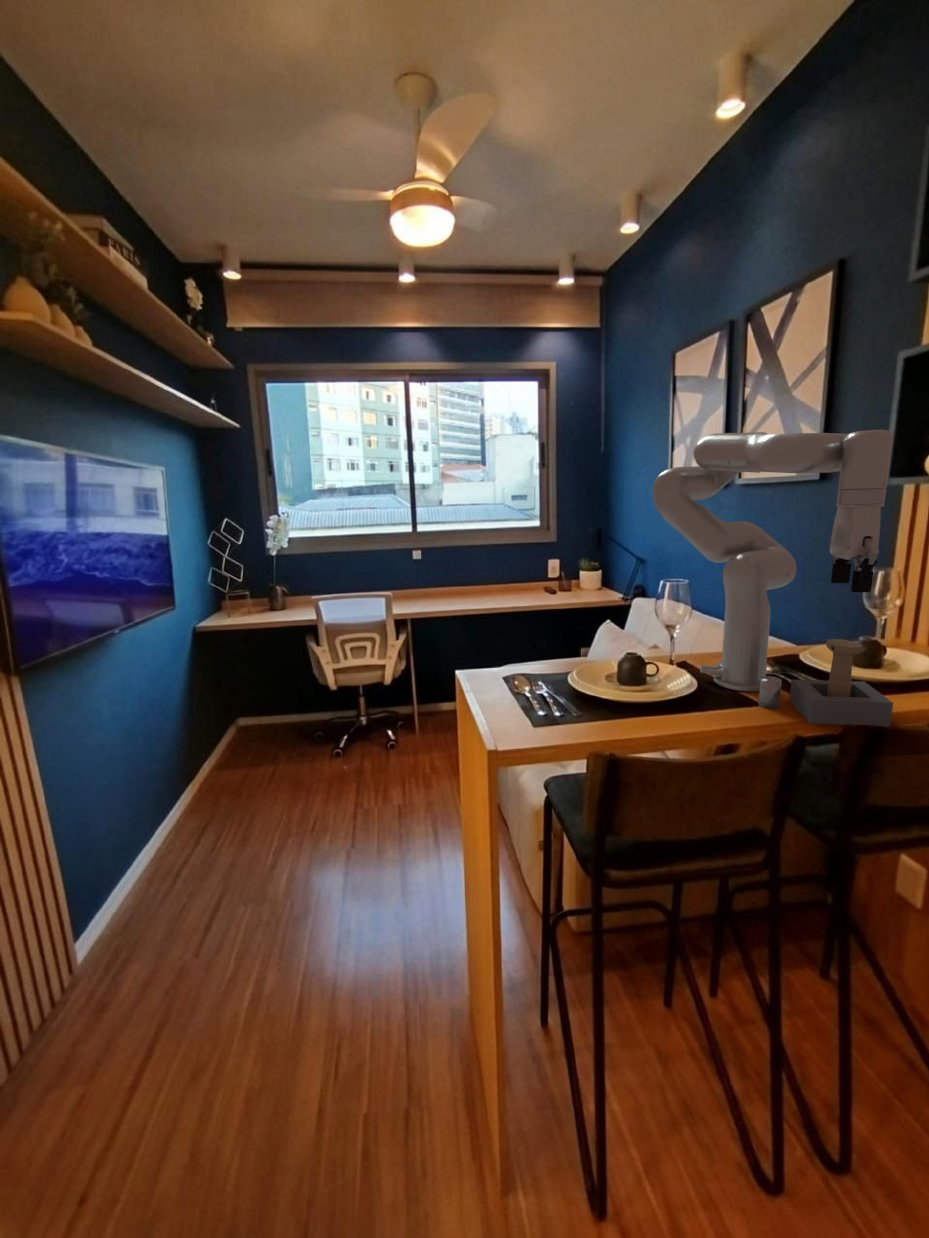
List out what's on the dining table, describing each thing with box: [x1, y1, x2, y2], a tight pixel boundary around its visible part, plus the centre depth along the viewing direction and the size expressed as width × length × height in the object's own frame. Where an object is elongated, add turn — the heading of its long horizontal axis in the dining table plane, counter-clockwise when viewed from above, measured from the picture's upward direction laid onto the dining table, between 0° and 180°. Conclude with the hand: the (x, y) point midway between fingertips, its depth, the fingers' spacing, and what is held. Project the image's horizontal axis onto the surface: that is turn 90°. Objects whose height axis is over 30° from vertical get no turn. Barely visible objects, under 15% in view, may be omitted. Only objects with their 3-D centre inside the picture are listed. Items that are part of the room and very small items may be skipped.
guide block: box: [789, 679, 894, 728], centre depth 116 cm, size 14×12×5 cm
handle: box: [825, 638, 864, 697], centre depth 115 cm, size 5×6×15 cm
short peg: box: [757, 675, 782, 710], centre depth 121 cm, size 4×4×6 cm
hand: (849, 587), depth 111 cm, fingers open, 9 cm apart
